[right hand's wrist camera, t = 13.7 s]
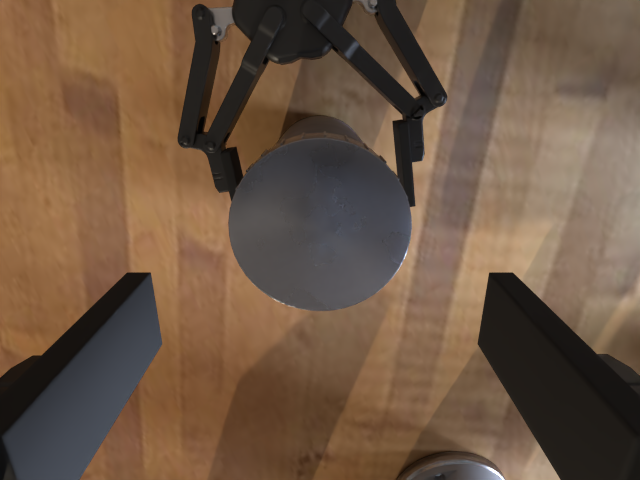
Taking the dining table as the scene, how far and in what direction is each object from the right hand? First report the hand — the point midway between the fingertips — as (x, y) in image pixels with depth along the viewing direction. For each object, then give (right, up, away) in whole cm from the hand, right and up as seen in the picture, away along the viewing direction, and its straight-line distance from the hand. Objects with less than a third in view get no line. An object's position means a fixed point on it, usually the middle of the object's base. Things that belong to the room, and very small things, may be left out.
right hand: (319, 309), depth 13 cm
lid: (0, +3, +8) cm, 8 cm away
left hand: (0, +4, +20) cm, 21 cm away
